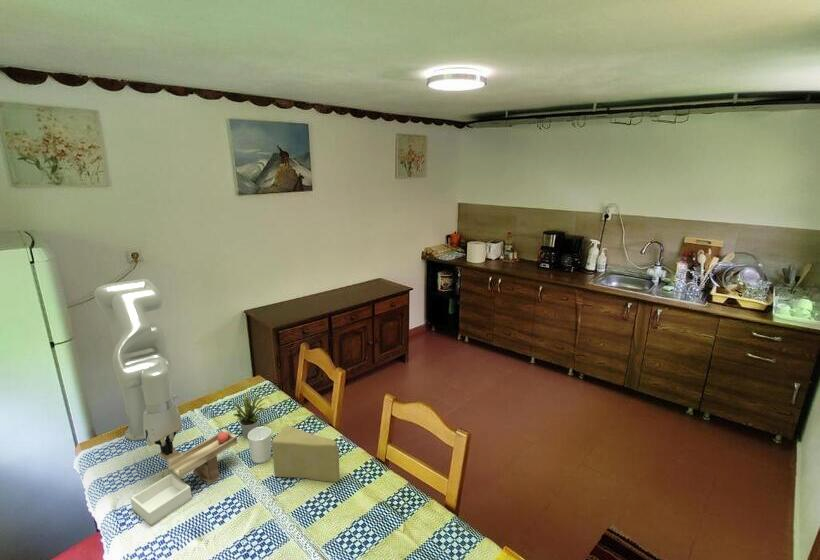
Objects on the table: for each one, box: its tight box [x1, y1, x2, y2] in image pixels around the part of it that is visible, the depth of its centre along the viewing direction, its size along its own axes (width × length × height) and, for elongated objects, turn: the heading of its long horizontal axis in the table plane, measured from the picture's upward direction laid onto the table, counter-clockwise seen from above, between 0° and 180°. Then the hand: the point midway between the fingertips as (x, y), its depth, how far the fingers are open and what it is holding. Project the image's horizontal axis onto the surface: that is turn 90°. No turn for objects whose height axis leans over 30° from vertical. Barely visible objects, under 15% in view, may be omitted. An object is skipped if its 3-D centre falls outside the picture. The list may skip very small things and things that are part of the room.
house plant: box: [229, 391, 269, 439], centre depth 157 cm, size 14×14×16 cm
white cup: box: [247, 426, 272, 464], centre depth 146 cm, size 8×8×10 cm
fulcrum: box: [192, 455, 222, 485], centre depth 137 cm, size 10×4×9 cm, turn 59°
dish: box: [130, 472, 193, 527], centre depth 125 cm, size 11×12×4 cm
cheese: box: [271, 424, 341, 483], centre depth 138 cm, size 22×10×15 cm, turn 75°
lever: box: [158, 428, 238, 478], centre depth 138 cm, size 16×20×4 cm
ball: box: [217, 432, 228, 443], centre depth 141 cm, size 4×4×4 cm
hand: (167, 452), depth 135 cm, fingers closed
